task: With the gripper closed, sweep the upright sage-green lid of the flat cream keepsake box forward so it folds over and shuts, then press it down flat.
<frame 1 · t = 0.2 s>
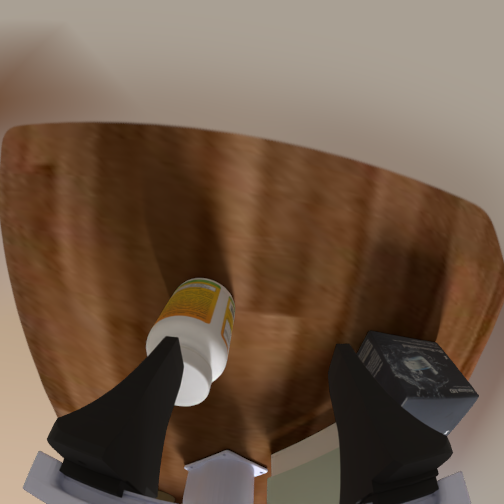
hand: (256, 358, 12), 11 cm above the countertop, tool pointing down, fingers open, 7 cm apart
olive pepper mill: (160, 494, 37), on the countertop
keepsake box: (339, 440, 29), on the countertop
supplement bottle: (204, 304, 24), on the countertop
box: (393, 355, 25), on the countertop
lid: (328, 483, 20), point 8 cm above the countertop, hinge at 92.0°
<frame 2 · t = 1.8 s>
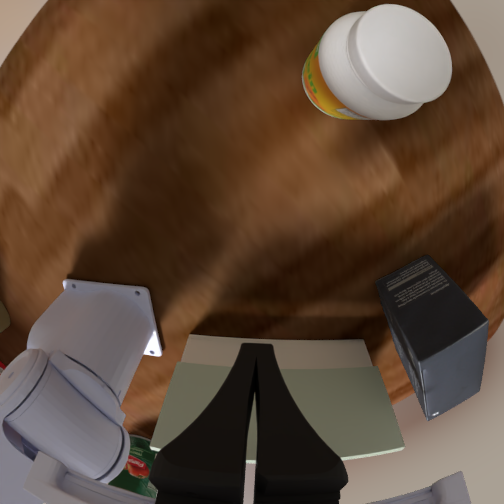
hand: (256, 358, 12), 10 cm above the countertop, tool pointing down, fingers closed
canned tomato: (145, 444, 38), on the countertop
keepsake box: (275, 368, 26), on the countertop
supplement bottle: (340, 81, 16), on the countertop
box: (410, 303, 23), on the countertop
lid: (281, 412, 17), point 8 cm above the countertop, hinge at 92.0°
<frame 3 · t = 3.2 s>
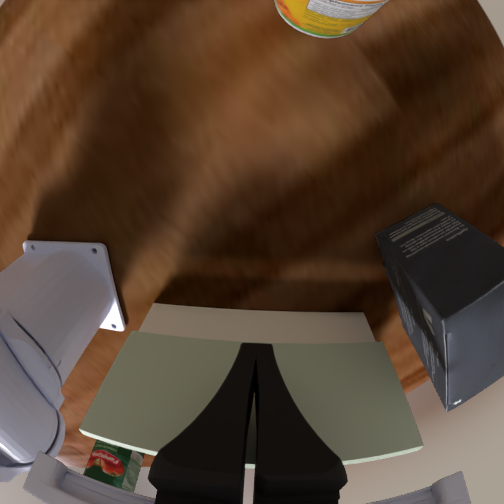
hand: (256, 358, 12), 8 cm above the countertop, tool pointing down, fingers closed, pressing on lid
canned tomato: (123, 439, 34), on the countertop
keepsake box: (256, 349, 22), on the countertop
supplement bottle: (318, 4, 12), on the countertop
box: (419, 267, 19), on the countertop
lid: (254, 397, 13), point 8 cm above the countertop, hinge at 91.8°, touching gripper
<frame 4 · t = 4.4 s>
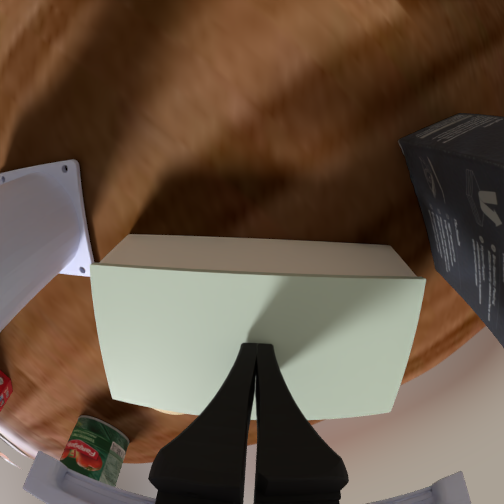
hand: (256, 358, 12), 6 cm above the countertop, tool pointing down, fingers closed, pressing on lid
canned tomato: (104, 430, 29), on the countertop
keepsake box: (256, 297, 18), on the countertop
box: (449, 192, 15), on the countertop
lid: (253, 355, 13), point 6 cm above the countertop, hinge at 15.5°, touching gripper
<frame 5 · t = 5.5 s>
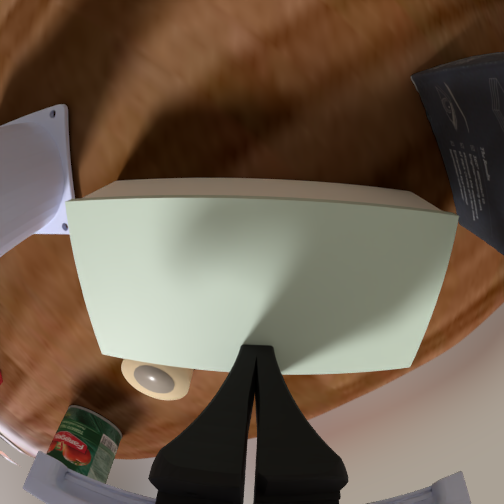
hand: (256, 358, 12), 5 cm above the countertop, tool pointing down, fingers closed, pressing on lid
cream domed disc: (162, 356, 20), on the countertop
canned tomato: (95, 421, 27), on the countertop
keepsake box: (260, 252, 16), on the countertop
box: (467, 138, 12), on the countertop
lid: (258, 299, 11), point 5 cm above the countertop, hinge at 3.3°, touching gripper
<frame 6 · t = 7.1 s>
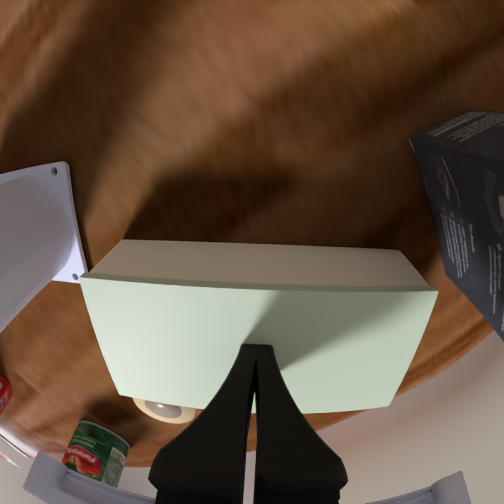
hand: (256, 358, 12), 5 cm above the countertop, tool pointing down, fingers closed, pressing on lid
cream domed disc: (169, 384, 21), on the countertop
canned tomato: (104, 434, 29), on the countertop
keepsake box: (258, 305, 17), on the countertop
box: (461, 193, 13), on the countertop
lid: (255, 360, 13), point 5 cm above the countertop, hinge at 3.1°, touching gripper
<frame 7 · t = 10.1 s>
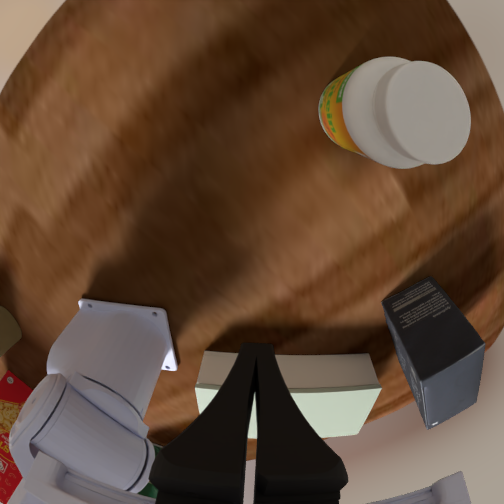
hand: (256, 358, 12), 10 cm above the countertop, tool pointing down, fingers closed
food packaging: (37, 397, 37), on the countertop
olive pepper mill: (8, 322, 28), on the countertop
canned tomato: (155, 449, 39), on the countertop
keepsake box: (285, 380, 27), on the countertop
supplement bottle: (355, 113, 17), on the countertop
box: (414, 320, 24), on the countertop
lid: (286, 416, 23), point 5 cm above the countertop, hinge at 3.1°
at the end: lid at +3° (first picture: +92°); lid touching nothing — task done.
